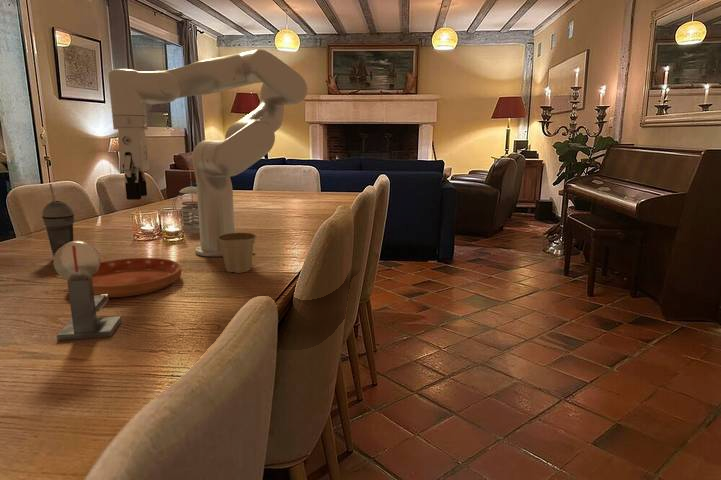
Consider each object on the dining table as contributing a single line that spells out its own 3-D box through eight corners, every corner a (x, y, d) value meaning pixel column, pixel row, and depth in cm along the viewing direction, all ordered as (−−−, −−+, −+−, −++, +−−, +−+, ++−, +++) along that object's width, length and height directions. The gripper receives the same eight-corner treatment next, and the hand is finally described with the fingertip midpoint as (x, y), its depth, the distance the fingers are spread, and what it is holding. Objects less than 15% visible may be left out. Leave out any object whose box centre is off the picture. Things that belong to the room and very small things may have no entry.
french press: (203, 233, 161) (198, 158, 156) (169, 232, 162) (163, 158, 156) (212, 227, 171) (208, 157, 166) (180, 227, 171) (175, 157, 166)
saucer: (147, 266, 122) (146, 252, 122) (202, 282, 109) (201, 267, 109) (50, 288, 104) (47, 272, 103) (102, 311, 91) (99, 292, 90)
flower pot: (238, 277, 112) (236, 242, 110) (210, 271, 117) (208, 237, 115) (265, 268, 120) (264, 235, 118) (239, 263, 125) (237, 230, 123)
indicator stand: (123, 318, 87) (114, 232, 84) (110, 336, 79) (100, 242, 76) (75, 321, 85) (63, 233, 82) (57, 340, 78) (44, 244, 74)
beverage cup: (64, 262, 123) (54, 185, 119) (41, 261, 125) (30, 185, 120) (85, 255, 130) (77, 183, 126) (63, 254, 132) (53, 182, 127)
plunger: (108, 300, 90) (108, 294, 90) (99, 311, 85) (98, 304, 84) (101, 300, 90) (101, 294, 90) (91, 311, 84) (91, 305, 84)
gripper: (139, 123, 107) (146, 202, 111) (153, 124, 124) (159, 193, 128) (103, 122, 106) (111, 202, 110) (122, 124, 122) (129, 193, 126)
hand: (137, 196), depth 119 cm, fingers open, 6 cm apart
